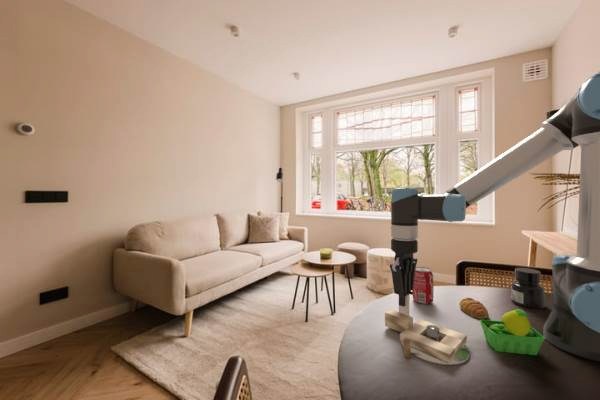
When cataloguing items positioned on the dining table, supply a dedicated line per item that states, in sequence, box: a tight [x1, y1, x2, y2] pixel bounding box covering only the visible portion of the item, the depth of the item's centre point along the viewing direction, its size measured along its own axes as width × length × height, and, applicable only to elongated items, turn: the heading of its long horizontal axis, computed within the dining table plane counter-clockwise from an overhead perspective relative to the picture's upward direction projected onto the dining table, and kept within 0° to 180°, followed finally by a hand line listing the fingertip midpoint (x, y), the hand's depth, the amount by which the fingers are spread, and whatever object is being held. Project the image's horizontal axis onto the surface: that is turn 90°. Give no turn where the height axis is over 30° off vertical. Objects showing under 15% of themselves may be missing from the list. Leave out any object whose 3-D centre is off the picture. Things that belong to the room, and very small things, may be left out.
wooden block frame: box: [384, 308, 468, 363], centre depth 71 cm, size 19×12×4 cm, turn 41°
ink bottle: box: [510, 267, 546, 310], centre depth 92 cm, size 10×9×12 cm
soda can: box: [411, 266, 435, 305], centre depth 96 cm, size 7×7×12 cm
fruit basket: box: [479, 308, 546, 356], centre depth 66 cm, size 11×9×11 cm
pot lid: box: [400, 325, 470, 367], centre depth 68 cm, size 16×16×5 cm
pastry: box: [459, 297, 490, 320], centre depth 86 cm, size 9×7×4 cm
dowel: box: [403, 338, 412, 359], centre depth 64 cm, size 2×2×4 cm
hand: (404, 315), depth 80 cm, fingers closed
